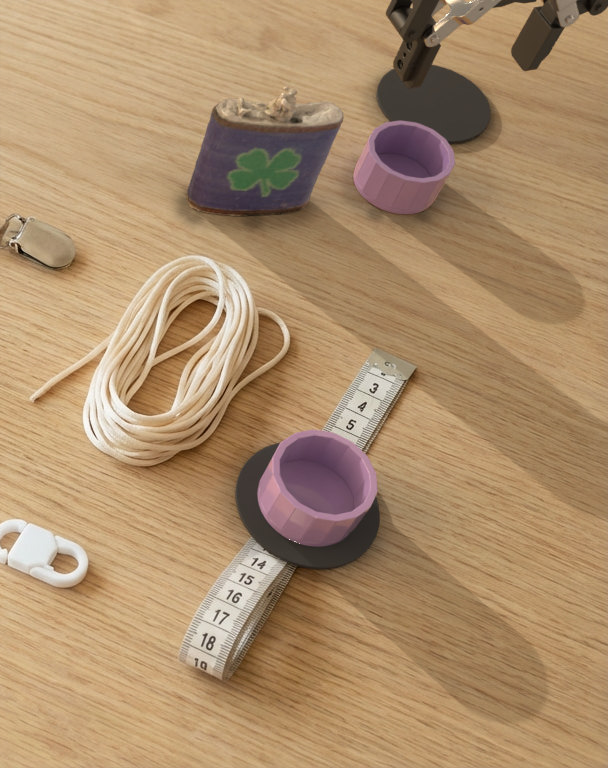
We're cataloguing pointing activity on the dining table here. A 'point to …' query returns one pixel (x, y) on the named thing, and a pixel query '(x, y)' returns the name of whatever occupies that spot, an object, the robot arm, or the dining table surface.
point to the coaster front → (286, 548)
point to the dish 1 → (317, 488)
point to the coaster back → (437, 103)
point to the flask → (262, 155)
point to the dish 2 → (403, 167)
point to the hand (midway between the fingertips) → (464, 71)
